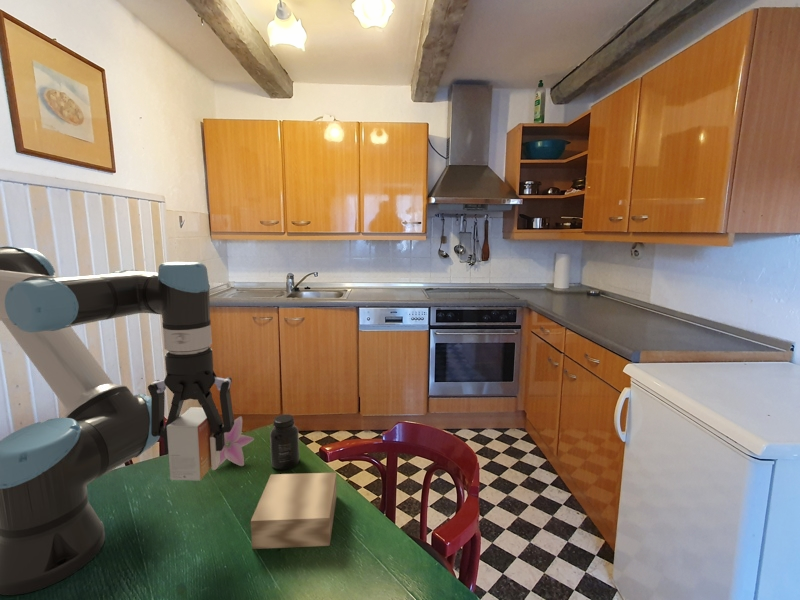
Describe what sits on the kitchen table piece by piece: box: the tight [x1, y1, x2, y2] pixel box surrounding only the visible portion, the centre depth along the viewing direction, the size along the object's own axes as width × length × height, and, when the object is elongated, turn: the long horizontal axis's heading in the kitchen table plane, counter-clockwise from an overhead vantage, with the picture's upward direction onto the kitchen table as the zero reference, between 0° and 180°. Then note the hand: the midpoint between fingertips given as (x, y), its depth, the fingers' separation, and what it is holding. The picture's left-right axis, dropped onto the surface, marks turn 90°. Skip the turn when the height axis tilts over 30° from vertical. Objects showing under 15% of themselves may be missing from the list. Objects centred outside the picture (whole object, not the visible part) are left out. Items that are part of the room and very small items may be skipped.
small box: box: [167, 406, 219, 481], centre depth 73 cm, size 8×6×10 cm
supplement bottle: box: [269, 413, 300, 471], centre depth 97 cm, size 7×7×12 cm
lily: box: [217, 416, 255, 468], centre depth 99 cm, size 12×12×10 cm
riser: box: [250, 472, 338, 550], centre depth 78 cm, size 14×14×6 cm
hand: (196, 466), depth 73 cm, fingers closed on small box, 6 cm apart
